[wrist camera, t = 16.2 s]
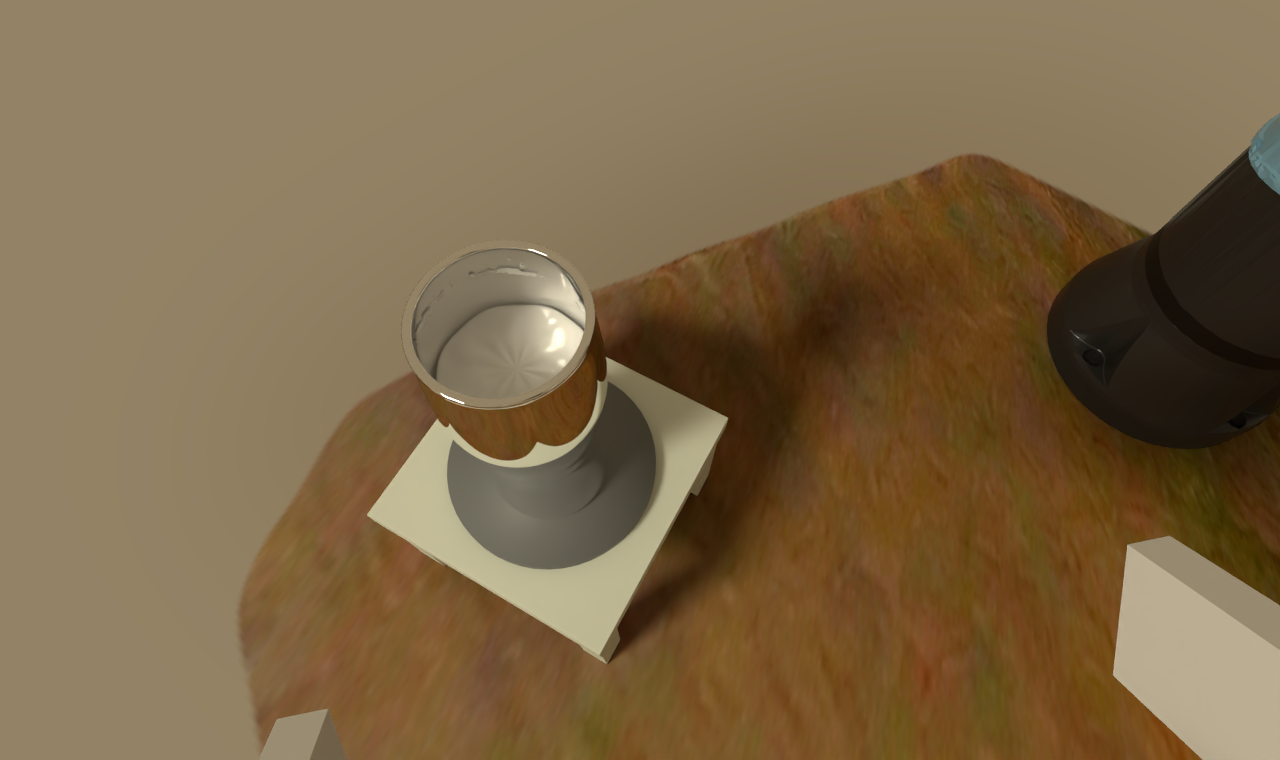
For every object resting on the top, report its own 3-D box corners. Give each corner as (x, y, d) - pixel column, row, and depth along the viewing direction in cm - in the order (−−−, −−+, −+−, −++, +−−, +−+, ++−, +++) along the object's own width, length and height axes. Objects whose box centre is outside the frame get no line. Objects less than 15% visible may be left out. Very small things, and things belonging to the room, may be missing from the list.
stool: (712, 474, 48) (729, 413, 39) (608, 669, 43) (598, 654, 33) (537, 384, 51) (514, 306, 42) (420, 555, 46) (362, 512, 36)
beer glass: (560, 378, 40) (517, 202, 26) (643, 468, 37) (644, 325, 24) (457, 457, 38) (354, 310, 24) (539, 557, 35) (474, 456, 22)
